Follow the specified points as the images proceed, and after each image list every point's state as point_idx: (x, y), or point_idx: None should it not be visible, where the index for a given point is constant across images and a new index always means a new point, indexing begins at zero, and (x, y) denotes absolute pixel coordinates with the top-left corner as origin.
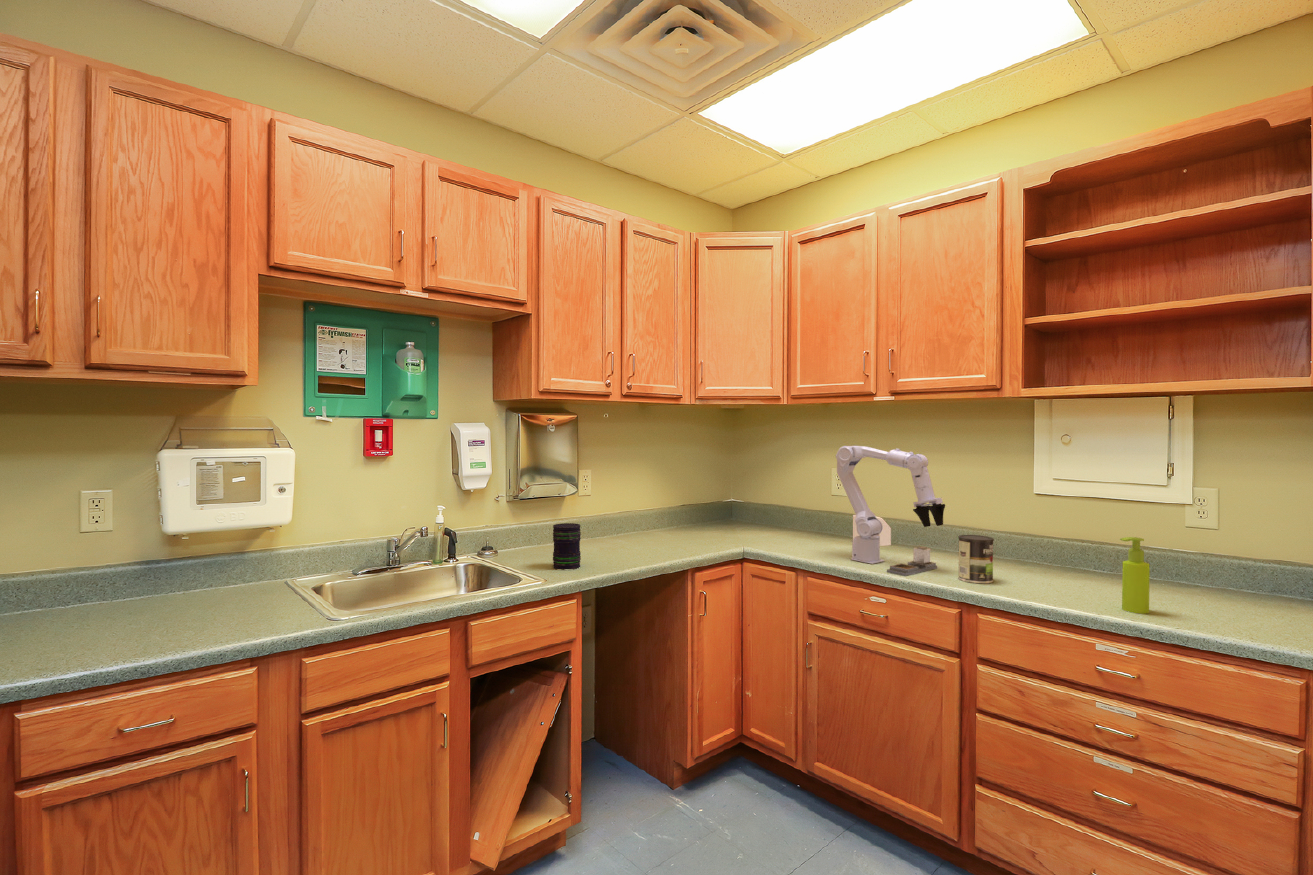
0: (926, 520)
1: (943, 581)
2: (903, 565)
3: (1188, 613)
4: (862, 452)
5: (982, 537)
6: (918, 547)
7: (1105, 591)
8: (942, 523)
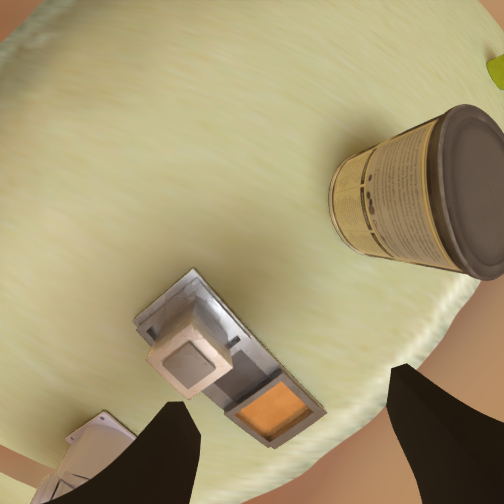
0: (176, 462)
1: (389, 316)
2: (239, 408)
3: (481, 32)
4: None
5: (480, 146)
6: (194, 384)
7: (412, 6)
8: (415, 374)
